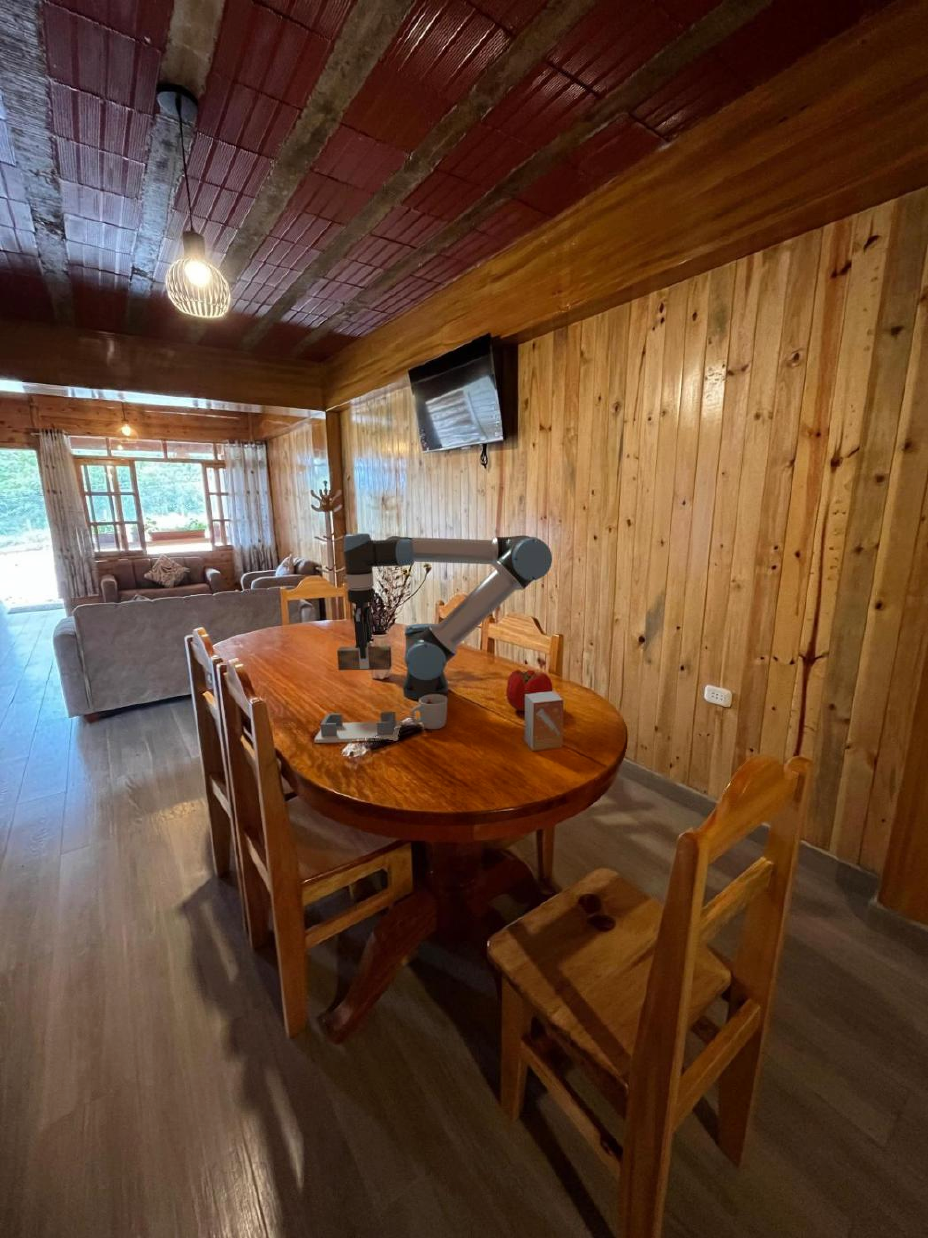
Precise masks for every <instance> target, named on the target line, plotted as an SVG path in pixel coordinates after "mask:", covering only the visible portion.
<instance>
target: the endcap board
mask: <svg viewBox="0 0 928 1238" xmlns="http://www.w3.org/2000/svg"><path fill="white" fill-rule="evenodd" d="M401 724H402V725H403V721H401V720H400V721H399V720H398V721H397V719H396V712H395V711H390V712H389V711H386V712H385V711H384V712H383V711H381V712H380V721H360V722H357V721H356V722H343V713H327V714H326V715H325V717H324V718H323V720H322V722H321V723H320V725H319V726H320V730H319V732H318V733H317V735H315V738H314V743H315V744H319V743H320V744H321V743H323V744H324V743H325V744H326V743H329V744H330V743H352V742H351V741H352V740H356V739H365V738H366V739H367V738H369V737H370V738H379V739H380V738H381V739H382V738H383V739H389V740H393V741H392V742H395V741H396V742H397V741H398V740H399V737H398V734H399V730H400V729H399V730H398V729H394V728H395V727H396V726H401ZM400 731H401V730H400ZM375 735H378V736H376V737H375ZM383 735H384V736H383ZM399 735H400V734H399ZM373 736H374V737H373Z"/></svg>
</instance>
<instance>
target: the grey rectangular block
mask: <svg viewBox="0 0 928 1238" xmlns="http://www.w3.org/2000/svg"><path fill="white" fill-rule="evenodd" d="M336 651H337V652H336V653H337V666H338V667H337V668H338V669H337V670H338V671H375V670H376V671H379V670H380V671H383V670H384V671H386V670H387V671H388V670H391V668H392V647H391V646H390V645H387V646H386V645H385V646H383V645H382V646H381V645H377V646H372V645H371V647H368V653H369V667H370V668H369V669H360V664H359V651H358V648H355V646H340V647H339V648H338V649H337V650H336Z"/></svg>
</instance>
